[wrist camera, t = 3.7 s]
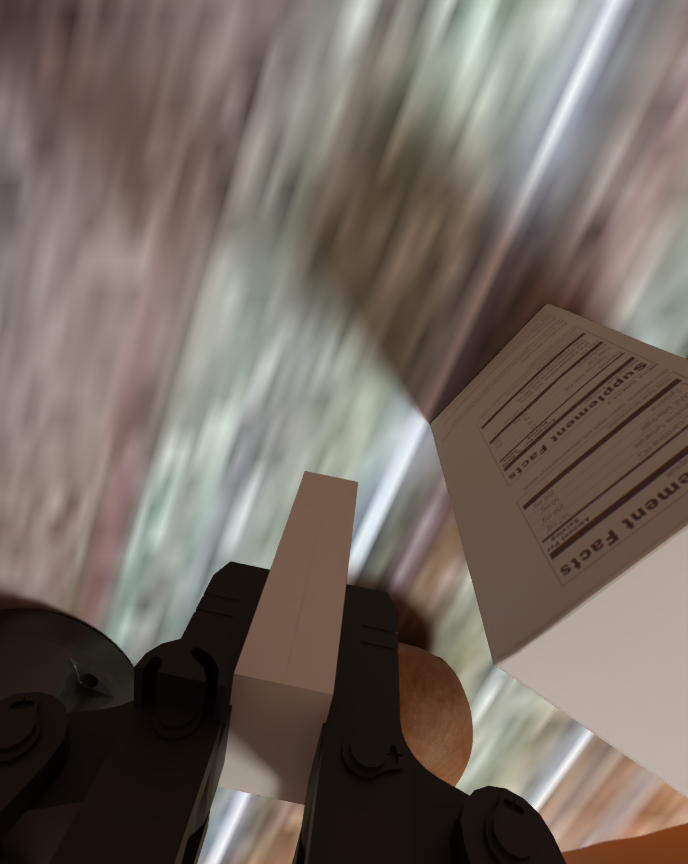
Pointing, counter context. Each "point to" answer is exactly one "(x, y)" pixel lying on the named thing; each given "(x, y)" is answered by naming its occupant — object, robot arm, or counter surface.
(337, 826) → the robot arm
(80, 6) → the counter surface
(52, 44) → the counter surface
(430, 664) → the onion
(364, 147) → the counter surface
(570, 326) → the supplement box
